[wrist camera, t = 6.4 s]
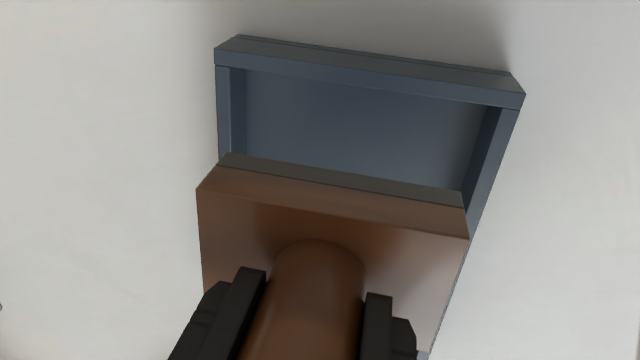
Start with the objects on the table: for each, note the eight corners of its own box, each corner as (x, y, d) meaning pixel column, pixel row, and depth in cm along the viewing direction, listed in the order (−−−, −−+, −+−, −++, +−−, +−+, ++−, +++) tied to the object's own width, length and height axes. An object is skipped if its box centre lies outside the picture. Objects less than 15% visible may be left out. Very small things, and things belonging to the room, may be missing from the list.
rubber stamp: (226, 150, 14) (42, 370, 7) (461, 191, 13) (522, 486, 6) (229, 259, 17) (98, 499, 10) (426, 298, 16) (442, 593, 9)
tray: (237, 33, 23) (213, 48, 20) (511, 72, 21) (527, 93, 18) (240, 304, 34) (225, 338, 31) (419, 342, 33) (420, 381, 30)
